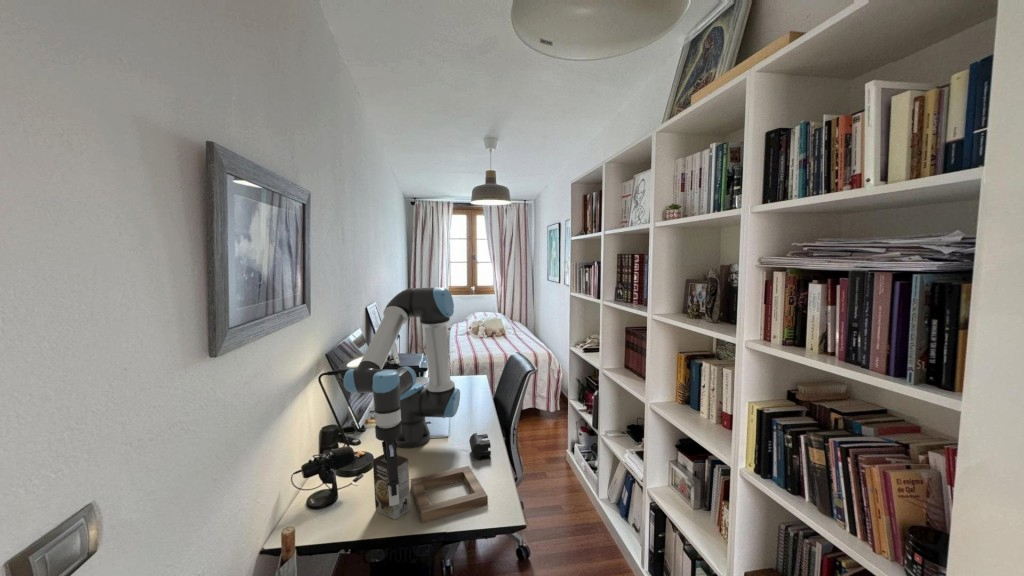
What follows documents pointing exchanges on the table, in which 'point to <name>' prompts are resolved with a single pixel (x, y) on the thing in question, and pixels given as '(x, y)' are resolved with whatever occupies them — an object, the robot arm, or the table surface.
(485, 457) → the end cap
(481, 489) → the walnut hole plate
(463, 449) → the table surface
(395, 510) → the coffee box
